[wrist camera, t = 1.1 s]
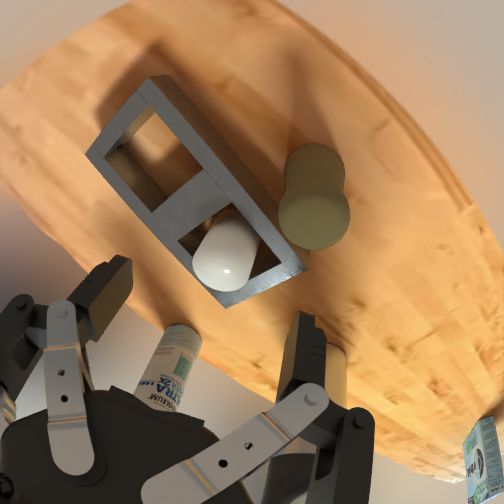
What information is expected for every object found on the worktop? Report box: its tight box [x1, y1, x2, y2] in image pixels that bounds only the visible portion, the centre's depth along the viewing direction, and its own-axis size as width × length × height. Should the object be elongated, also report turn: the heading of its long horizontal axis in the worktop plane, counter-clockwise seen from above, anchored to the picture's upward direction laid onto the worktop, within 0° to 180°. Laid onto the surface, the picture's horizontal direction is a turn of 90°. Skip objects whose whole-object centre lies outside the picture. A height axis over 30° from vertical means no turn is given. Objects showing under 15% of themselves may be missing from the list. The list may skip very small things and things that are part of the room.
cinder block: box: [85, 75, 309, 309], centre depth 31 cm, size 24×11×4 cm, turn 39°
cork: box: [278, 144, 350, 250], centre depth 25 cm, size 6×6×11 cm
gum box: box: [463, 416, 504, 504], centre depth 46 cm, size 20×5×23 cm, turn 20°
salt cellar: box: [192, 209, 261, 292], centre depth 32 cm, size 6×6×7 cm
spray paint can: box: [133, 324, 202, 412], centre depth 39 cm, size 6×6×20 cm
